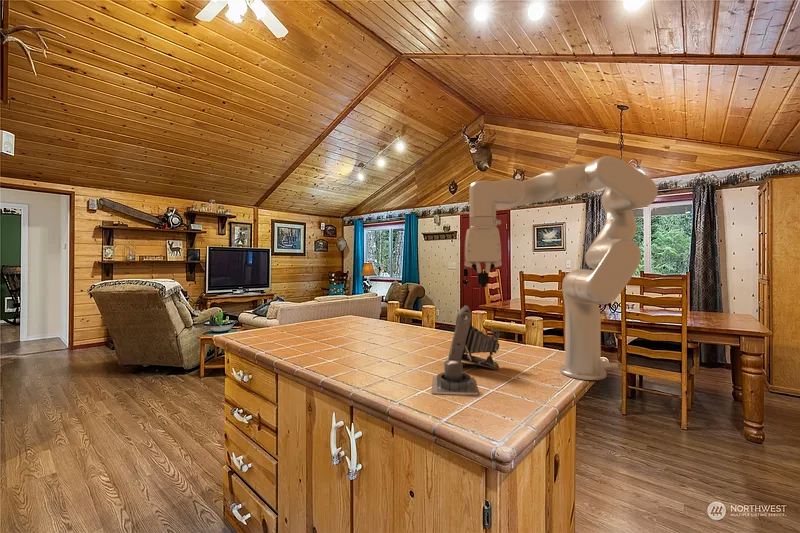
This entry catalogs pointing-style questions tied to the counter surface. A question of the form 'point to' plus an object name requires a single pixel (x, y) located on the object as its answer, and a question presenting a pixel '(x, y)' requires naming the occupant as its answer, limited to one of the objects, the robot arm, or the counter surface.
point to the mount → (454, 386)
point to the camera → (472, 342)
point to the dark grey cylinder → (453, 370)
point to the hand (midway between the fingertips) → (483, 286)
